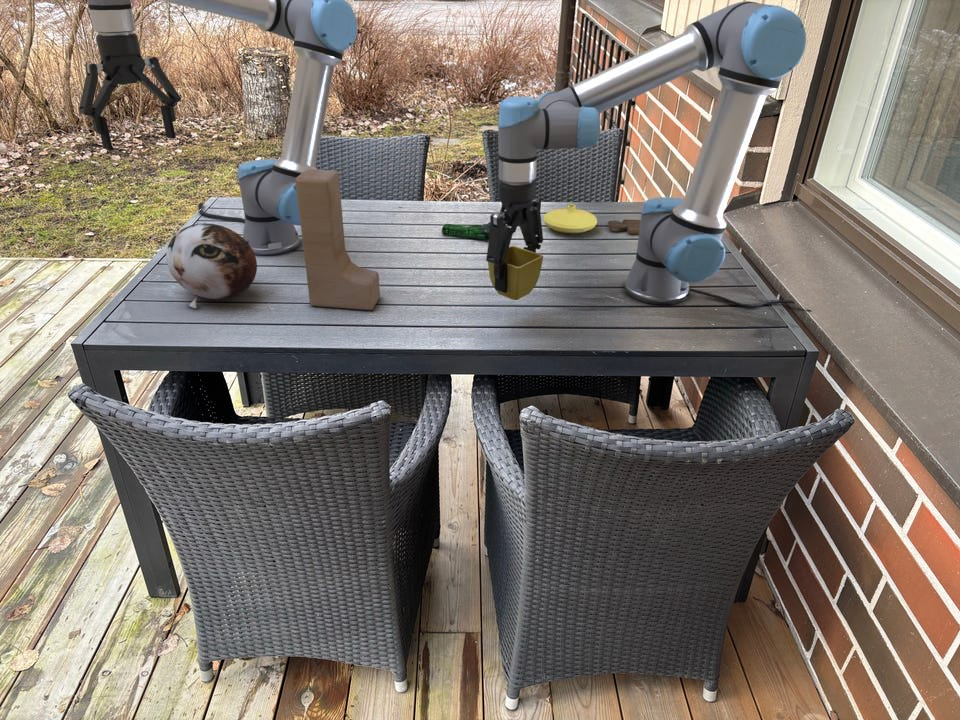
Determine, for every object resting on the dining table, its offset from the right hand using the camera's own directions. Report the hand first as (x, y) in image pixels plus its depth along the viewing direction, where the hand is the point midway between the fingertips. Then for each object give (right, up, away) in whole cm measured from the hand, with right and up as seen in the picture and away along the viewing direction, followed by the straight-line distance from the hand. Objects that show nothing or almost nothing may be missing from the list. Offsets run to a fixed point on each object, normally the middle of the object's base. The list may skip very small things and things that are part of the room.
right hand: (514, 283), depth 154 cm
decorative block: (-39, -3, +13) cm, 41 cm away
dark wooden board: (+44, +22, +58) cm, 76 cm away
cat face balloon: (-69, -1, +15) cm, 71 cm away
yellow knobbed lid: (+19, +22, +57) cm, 64 cm away
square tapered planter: (0, -2, +1) cm, 3 cm away
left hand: (-79, +29, -4) cm, 84 cm away
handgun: (-9, +21, +54) cm, 58 cm away
